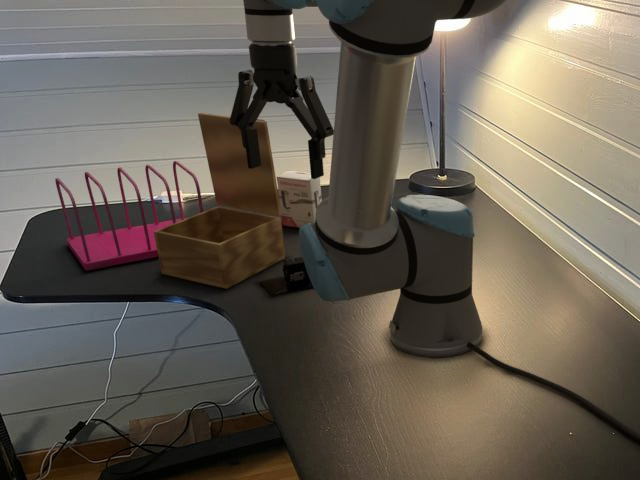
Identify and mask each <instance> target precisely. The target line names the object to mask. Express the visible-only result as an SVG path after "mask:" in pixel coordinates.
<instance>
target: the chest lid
mask: <svg viewBox="0 0 640 480" xmlns="http://www.w3.org/2000/svg"><path fill="white" fill-rule="evenodd" d="M197 117H198V122H199V127H200V132H201V136H202V141H203V145H204V150H205V155H206V160H207V165H208V169H209V174H210V180H211V183H212V188H213V192H214V198H215V202H216V205H217V206H222V207H227V208H233V209H238V210H244V211H249V212H255V213H260V214H265V215H271V216H276V217H280V216H282V214H281V207H280V199H279V192H278V184H277V176H276V171H275V170H276V169H275V165H274V158H273V152H272V146H271V140H270V134H269V127H268V126H269V125H268V122H267V121H266V120H265V119H259V118H257V120H256V122H255V123H254V125H253V126H255V127H252V128H251V129H257V133H258V142H259V150H260V158H261V166H258V167H256V168H253V169H249V168H248V162H247V154H246V148H244V147H243V144H242V137H241V130H240V129H239V127H237V126H235V125H231V124H230V117H231V116H227V115H220V114H211V113H205V112H204V113H203V112H199V113H197Z"/></svg>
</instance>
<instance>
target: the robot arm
mask: <svg viewBox="0 0 640 480" xmlns="http://www.w3.org/2000/svg"><path fill="white" fill-rule="evenodd" d="M242 1H243V9H244V20H245V29H246V38H247V40H248V41H250V42H251V43H250V44H249V46H248V52H249V53H248V54H249V63H250V66H251V68H252V69H253V70H251V69H247V70H241V71H239V72H238V74H237V77H238V78H237V79H238V86H237V90H236V93H235V98H234V102H233V106H232V109H231V114H230V116H229V117H230V124H231V125H235V126H237V127H239V129H240V130H241V137H242V144H243V147H244V148H246V154H247V162H248V168H249V169H253V168H256V167H258V166H261V158H260V150H259V142H258V133H257V129H251V128H252V127H255V126H253V125H254V123H255V122H256V120H257V119H259V117H260V115H261V113H262V112H263V110H264V108H265V106H266V105H267V103H274V102H275V103H277V104H280V105H281V104H285V106H286V107H288V108H289V109H290V110H291V111H292V113H293V114H294V115H295V116H296V119H298V121H299V122H300V124H301V125H302V127H303V128H304V129H305V131H306V133H307V134H308V135H309V136H310V139H308V140H307V146H308V156H309V170H310V173H311V179H316V178H319V177H320V178H322V177H324V176H325V173H324V172H325V171H324V161H323V159H326V156H327V155H326V143H325V140H326V138H329V137H331V136H332V146H331V159H330V160H331V162H330V172H329V184H328V196H327V197H325V198H324V199H322V202H321V203H320V204H319V205H318V207H317V210H316V218H315V223H313V224H311V223H307V224H306V225H303V226H302V227H301V228H299V229H298V242H299V248H300V252H301V257H302V258H303V260H304V264H305V267H306V270H307V273H308V276H309V278H310V281H311V283H312V285H313V287H314V288H313V289H314V291H315V293H316V294H317V295H318V297H319V298H321V300H323V301H325V302H329V303H333V302H340V301H341V302H343V301H351V300H354V299H358V298H359V299H360V298H364V297H367V296H374V295H377V294H383V293H387V292H391V291H397V290H399V297H398V299H397V303H396V307H395V309H394V313H393V316H392V319H390V321H389V324H388V328H389V330H390V340H391V342H392V344H393V345H394V346H395V347H396V348H398V350H400V351H402V352H404V353H406V354H410V355H414V356H417V357H424V358H449V357H454V356H460V355H461V354H465V353H468V352H469V351H473V352H474V353H476V354H477V355H479V356H481V357H482V358H483V359H485V360H486V361H488V362H489V363H491V364H493V365H495V366H496V367H498V368H500V369H502V370H505V371H507V372H509V373H513V374H515V375H518V376H521V377H524V378H526V379H528V380H531V381H533V382H535V383H539V384H541V385H544V386H546V387H547V388H550V389H552V390H555V391H557V392H559V393H561V394H563V395H565V396H567V397H568V398H571V399H572V400H574V401H576V402H578V403H579V404H581V405H583V406H584V407H585V408H587V409H588V410H590V411H591V412H593V413H594V414H595V415H597V416H598V417H600V418H602V419H603V420H605V421H606V422H608V423H610V424H611V425H613V427H615V428H617V429H618V430H620V431H621V432H622V433H624V434H626V435H627V436H628V437H630V438H631V439H633V440H635V441H636V442H639V443H640V434H639V433H638V432H636V431H634V430H633V429H631V428H629V427H628V426H627V425H625V424H623V423H622V422H621V421H619V420H618V419H617V418H615V417H613V416H612V415H611V414H608V413H607V412H606V411H604V410H603V409H601V408H599V407H598V406H597V405H595V404H594V403H592V402H590V401H589V400H587V399H586V398H585V397H583V396H581V395H580V394H578V393H575V392H574V391H572V390H570V389H568V388H566V387H564V386H562V385H560V384H557V383H555V382H553V381H550V380H548V379H546V378H543V377H541V376H539V375H536V374H533V373H532V372H528V371H526V370H523V369H520V368H517V367H516V366H515V367H514V366H512V365H510V364H507V363H504V362H502V361H501V360H498V359H497V358H495V357H493V356H491V354H489V353H487V351H485V350H483V349H481V348H480V347H478V346H479V345H480V343H481V342H482V339H483V325H482V321H481V317H480V314H479V311H478V309H477V305H476V303H475V299H474V296H473V265H474V264H473V262H474V261H473V260H474V259H473V258H474V238H475V230H474V216H473V213H472V211H471V209H470V208H469V207H468V206H467V205H466V204H464V203H463V202H460V201H457V200H454V199H451V198H447V197H443V196H438V195H430V194H409V195H408V194H407V195H404V196H403V197H400V198H398V200H397V202H396V204H395V208H396V210H395V209H394V208H393V207H392V203H393V197H394V193H395V192H394V191H395V185H396V181H397V180H396V179H397V174H398V167H399V160H400V155H401V150H402V149H401V148H402V144H403V137H404V131H405V126H406V119H407V113H408V107H409V101H410V96H411V89H412V83H413V76H414V71H415V65H416V64H415V63H416V59H417V57H418V56H420V55H423V54H424V53H426V52H427V51H428V50H429V49H430V47H431V46H432V44H433V38H434V32H435V29H436V27H435V26H436V23H437V22H438V21H446V20H447V21H448V20H465V19H468V20H469V19H475V18H477V17H481V16H485V15H487V14H490V13H491V12H493V11H495V10H497V9H499V8H500V7H501V6H503V5H504V4H505V2H506V1H507V0H242ZM304 8H305V9H306V8H318V10H319V11H320V13H321V15H322V16H323V17H324V18H325V19H327V20H328V26H329V29H330V31H331V33H332V34H333V35H334V36H335V37H336V38H337V40H338V41H339V42H340V51H339V64H338V76H337V86H336V98H335V99H336V100H335V111H334V122H333V123H334V125H333V126H332V123H331V121H330V118H329V117H328V114H327V112H326V110H325V108H324V105H323V104H322V101H321V99H320V97H319V95H318V92H317V90H316V85H315V79H314V77H313V76H311V75H308V76H304V77H298V75H297V67H298V55H297V46H296V45H295V43H292V42H294V40H296V34H295V25H294V15H293V14H294V13H293V11H294V10H302V9H304ZM254 85H255V86H256V90H255V92H254V93H253V90H254ZM299 91H300V92H299ZM252 94H253V96H252ZM251 98H252V100H251ZM250 100H251V102H250Z"/></svg>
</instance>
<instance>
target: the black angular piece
mask: <svg viewBox="0 0 640 480" xmlns="http://www.w3.org/2000/svg"><path fill="white" fill-rule="evenodd" d="M282 273H283V276H281V277H276V278H270V279H266V280H261V281H260V285H261V286H262V287H263V288H264V289H265V290H266V292H267V293H269V295H270V296H272V297H274V296H280V295H285V294H289V293H294V292H299V291H305V290H309V289H314V287H313V285H312V283H311V281H310V278H309V276H308V273H307V270H306V267H305V264H304V260H303V257H302V256H299V257H294V258H293V259H292V258H288V259H283V264H282Z"/></svg>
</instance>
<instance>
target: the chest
mask: <svg viewBox="0 0 640 480" xmlns="http://www.w3.org/2000/svg"><path fill="white" fill-rule="evenodd" d="M185 218H186V219H184V220H181V221H179V222H176V223H174V224H171V225H168V226H166V227H163V228H161V229H158V230H155V231H153V233H154V237H155V242H156V247H157V252H158V257H157V258H158V261H159V262H158V263H159V267H160V272H161V274H162V275H165V276H169V277H174V278H179V279H182V280H187V281H191V282H196V283H200V284H205V285H209V286H212V287H217V288H220V289H226V290H228V289H229V288H231V287H233V286H236V285H237V284H238V283H240V282H243V281H244V280H246V279H249V278H250V277H252V276H253V275H256V274H258V273H259V272H262V271H264V270H265V269H267V268H269V267H271V266H273V265H274V264H275V265H276V264H277V263H279V262H281V261H283V260H285V259H286V252H285V243H284V235H283V223H282V217H280V216H276V215H270V214H265V213H259V212H254V211H249V210H243V209H238V208H232V207H227V206H221V205H217V206H215V207H212V208H210V209H207V210H205V211H203V212H202V213H200V212H199V213H197V214H194V215H192V216H189V217H185Z"/></svg>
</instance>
